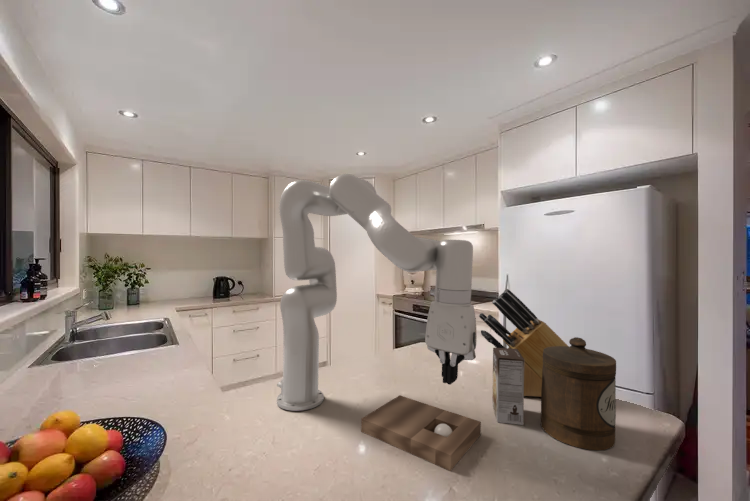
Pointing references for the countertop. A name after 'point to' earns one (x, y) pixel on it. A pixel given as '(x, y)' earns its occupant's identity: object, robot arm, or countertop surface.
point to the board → (422, 430)
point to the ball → (443, 430)
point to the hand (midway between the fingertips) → (449, 381)
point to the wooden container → (579, 396)
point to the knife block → (523, 338)
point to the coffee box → (508, 385)
